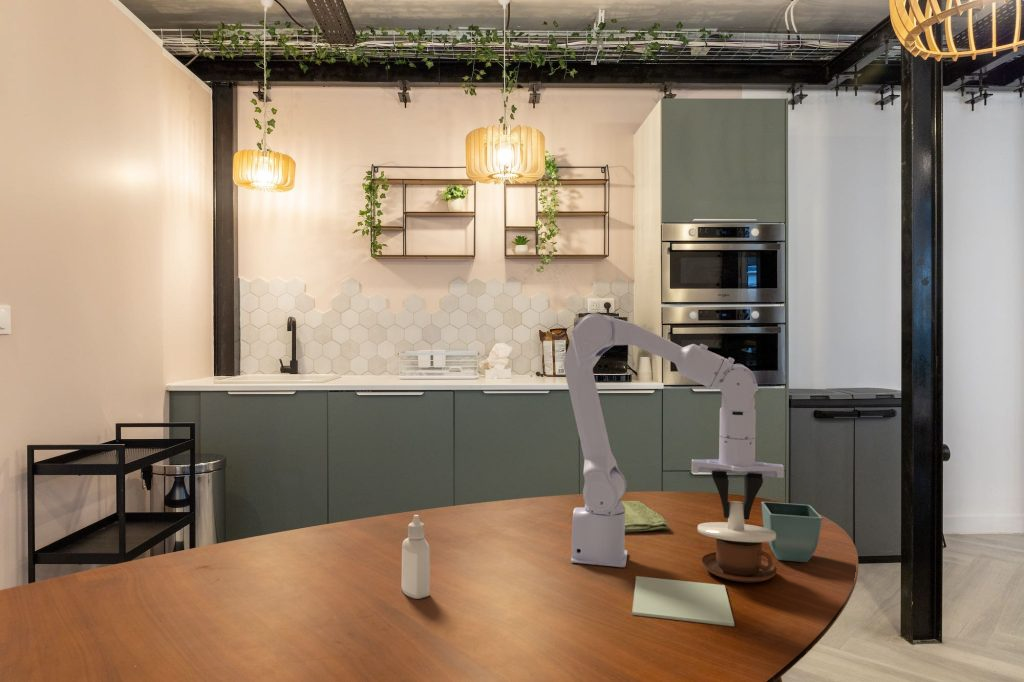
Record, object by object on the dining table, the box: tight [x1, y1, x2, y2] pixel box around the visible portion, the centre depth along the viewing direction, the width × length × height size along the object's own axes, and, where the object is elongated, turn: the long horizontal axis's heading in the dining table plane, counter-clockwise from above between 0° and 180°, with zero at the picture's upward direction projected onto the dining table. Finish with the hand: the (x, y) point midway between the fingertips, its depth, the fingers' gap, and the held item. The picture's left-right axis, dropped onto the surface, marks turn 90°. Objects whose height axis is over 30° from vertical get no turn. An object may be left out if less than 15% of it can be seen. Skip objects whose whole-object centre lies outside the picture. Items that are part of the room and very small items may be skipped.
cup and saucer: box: [701, 538, 777, 583], centre depth 108 cm, size 12×12×6 cm
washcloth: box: [621, 500, 669, 534], centre depth 138 cm, size 13×18×3 cm
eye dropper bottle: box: [401, 514, 431, 600], centre depth 98 cm, size 4×6×12 cm
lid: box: [697, 500, 776, 543], centre depth 106 cm, size 12×12×5 cm
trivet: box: [631, 575, 735, 627], centre depth 97 cm, size 14×14×1 cm
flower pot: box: [761, 501, 823, 563], centre depth 116 cm, size 9×9×9 cm
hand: (735, 517), depth 107 cm, fingers closed on lid, 3 cm apart
